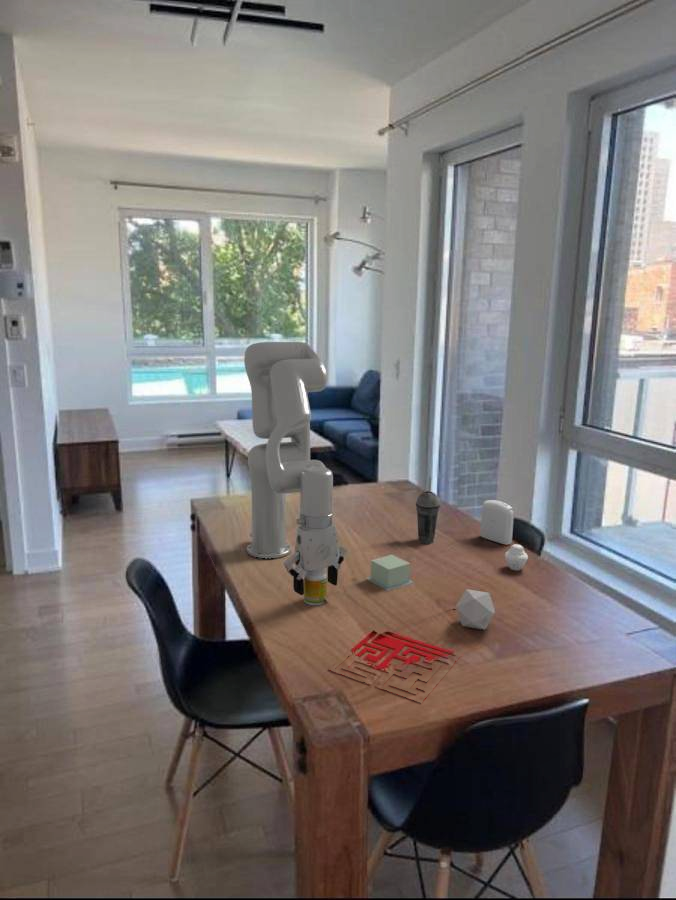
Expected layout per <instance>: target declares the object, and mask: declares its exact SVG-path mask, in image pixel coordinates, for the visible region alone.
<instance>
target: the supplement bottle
mask: <svg viewBox="0 0 676 900" xmlns="http://www.w3.org/2000/svg"><path fill="white" fill-rule="evenodd" d="M324 569H325V568H321V569H318V570H314V571H306V572H305V573H304V575H303V576H304V577H303V579H304V594H303V601H304V603H306V605H310V606H321V605H324V604H325V603H326V602H327V599H326V598H327V596H328V594H327V593H328V592H327V591H328V586H327V585H328V584H327V583H328V572H327V571H325V570H324Z"/></svg>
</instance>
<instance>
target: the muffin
mask: <svg viewBox="0 0 676 900" xmlns="http://www.w3.org/2000/svg"><path fill="white" fill-rule="evenodd" d="M504 558H505V561H506V564H507V565H508V568H509V569H510V570H512V571H521V570H522V569H523V568H524V566H525V565H526V563H527V562H528V559H529V556H528V553H526V552H525V548H524V546H522V545H521V544H518V543H516V544H515V543H514V544H512V545H510V548H509V549H508V550H507V551H506V552H505V554H504Z"/></svg>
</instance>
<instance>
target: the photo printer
mask: <svg viewBox="0 0 676 900" xmlns="http://www.w3.org/2000/svg"><path fill="white" fill-rule="evenodd" d="M514 516H515V511H514V508H513V507H512V506H511V505H509V504H508V503H505V502H503V501H500V500H495V499H491V500H485V501H484V502H483V504H482V507H481V520H480V537H481V538H483V539H487V540H489V541H491V542H496V543H498V544H502V545H505V546H507V545H511V544H512V542H513V534H514V533H513V531H514V530H513V529H514V518H515V517H514Z"/></svg>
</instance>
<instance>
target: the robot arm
mask: <svg viewBox="0 0 676 900" xmlns="http://www.w3.org/2000/svg"><path fill="white" fill-rule="evenodd" d="M243 358H244V361H243V362H244V368H245V373H246V375H247V378H248V382H249V385H250V391H251V419H252V420H251V421H252V430H253V433H254V435H255V437H257V438H258V439H265V440H267V443H260V444H257V445H254V446H252V447H251V449H249V451H248V453H247V464H248V469H249V470H248V471H249V476H250V484H251V485H250V486H251V487H250V488H251V532H250V533H249V537H250V538H251V543H250V544H248V545H247V546H246V554H248V555H249V554H250V555H249V556H251V555H252V556H251V557H253V556H254V557H253V558H256V557H258V559H262V558H265V560H270V559H271V558H274V559H279V558H283V557H285V556H287V555H289V554H290V553H291V551H292V549H291V548H292V547H291V545H290V544H289V543H288V542H286V495H287V494H295V493H300V498H299V500H300V501H299V502H300V504H299V505H300V514H299V518H297V519H296V520H295V521H296V522H295V523H296V524H297V525H299V526H298V527H297V529H296V530H297V531H296V536H295V544H294V553H293V554H291V556H290V557H288V558H287V559H286V560H285V561H283V566H284V568H285V569H286V572H287V573H288V574H290V576H291V577H292V578H293V585H292V587H293V591H294V592H295V593H296V594H298V595H299V596H304V578H303V576H304V574H305V572H306V571H314V570H318V569H321V568H324V569H325V568H327V583H329V584H331V585H332V586H337V585H338V577H339V575H338V574H339V572H338V571H339V569H340V568H341V565H342V563H343V562H344V559H345V558H344V557H345V556H346V553H347V551H348V550H347V548H346V547H343V546H340V545H339V537H338V531H337V527H336V524H335V523H334V522H333V512H334V511H333V510H334V509H333V506H334V504H333V501H334V500H333V497H334V495H333V494H334V487H333V486H334V475H333V474H334V473H333V472H332V470H331V469H329V468H327V467H326V466H325V464H324V463H323V462H322V461H321V460H318V459H311V425H310V423H311V420H312V411H311V407H310V402H309V396H308V393H315V392H316V393H317V392H322V391H324V390H325V388H326V386H327V385H328V383H327V382H328V373H327V370H326V366H325V364H324V362H323V360H322V358H321V357H320V356H319V355H318V354H317V353H316V351H315V350H314V349H313V348H312V346H310V345H309V344H308V343H306V342H303V341H302V342H301V341H261V342H255V343H252V344H250V345H248V346H247V348H246V350H245V352H244V357H243ZM285 438H287V439H288V438H290V441H285V442H284V441H283V439H285ZM282 441H283V442H282ZM268 558H269V559H268ZM271 560H272V559H271ZM294 565H295V566H294Z"/></svg>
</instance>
